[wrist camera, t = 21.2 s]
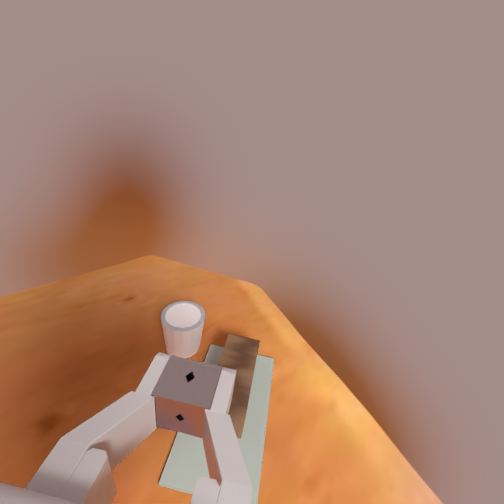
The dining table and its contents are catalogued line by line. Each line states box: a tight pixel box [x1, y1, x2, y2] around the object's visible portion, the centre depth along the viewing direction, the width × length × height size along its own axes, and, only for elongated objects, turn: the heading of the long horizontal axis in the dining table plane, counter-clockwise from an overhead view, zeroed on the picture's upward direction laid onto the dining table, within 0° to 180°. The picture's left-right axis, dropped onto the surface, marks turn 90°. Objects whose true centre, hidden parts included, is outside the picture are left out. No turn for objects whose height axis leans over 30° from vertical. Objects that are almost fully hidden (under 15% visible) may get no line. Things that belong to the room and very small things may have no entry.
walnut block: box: [218, 334, 260, 439], centre depth 40 cm, size 5×5×12 cm
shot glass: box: [161, 301, 205, 358], centre depth 46 cm, size 7×7×7 cm
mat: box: [159, 344, 274, 504], centre depth 40 cm, size 11×20×1 cm, turn 170°
